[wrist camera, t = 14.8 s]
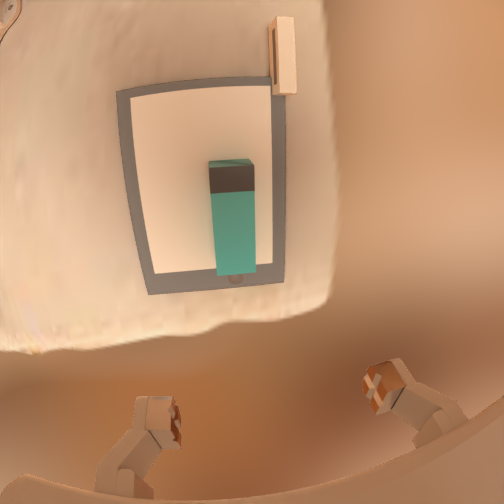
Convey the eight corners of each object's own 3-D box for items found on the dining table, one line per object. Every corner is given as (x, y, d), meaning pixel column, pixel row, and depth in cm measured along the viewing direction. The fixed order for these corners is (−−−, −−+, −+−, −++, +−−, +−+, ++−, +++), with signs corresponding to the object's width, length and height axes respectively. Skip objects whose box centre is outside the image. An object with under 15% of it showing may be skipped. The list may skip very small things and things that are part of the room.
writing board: (118, 92, 24) (116, 91, 23) (282, 78, 26) (284, 77, 25) (149, 291, 35) (148, 295, 34) (282, 279, 37) (284, 282, 36)
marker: (208, 160, 28) (208, 167, 25) (248, 158, 29) (254, 165, 25) (217, 272, 34) (218, 292, 30) (251, 269, 34) (256, 288, 31)
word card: (268, 27, 23) (276, 16, 19) (283, 28, 23) (293, 17, 20) (270, 95, 27) (279, 92, 23) (285, 95, 27) (297, 93, 23)
